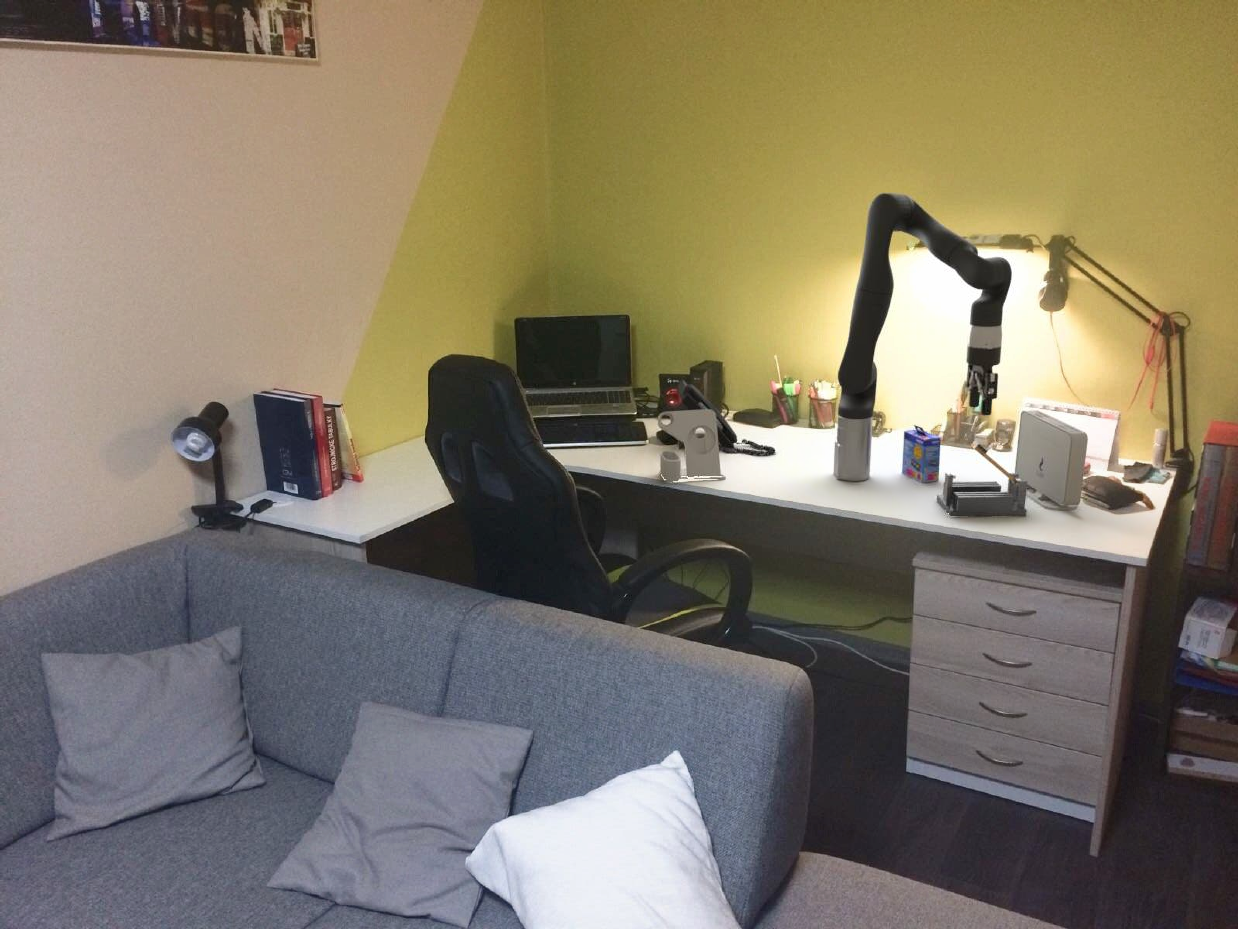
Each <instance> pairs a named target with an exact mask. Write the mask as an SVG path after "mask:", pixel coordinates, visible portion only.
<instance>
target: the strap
mask: <svg viewBox="0 0 1238 929" xmlns="http://www.w3.org/2000/svg"><path fill="white" fill-rule="evenodd" d="M970 446H971V447H972V449H974V450H975V451H976V452H977V453H978V454H980V455H981V456H982V457H983V458H984V459H985V460H987V461H988V462H989V463H991V464H992V465H993V466H994V467H995V468H996V469H998V471H1000V472H1001V473H1002V474H1003V475H1005V477H1007V478H1008V479H1010V480H1011V483H1012V484H1014V485H1015V486H1016V487H1017V481H1018V480H1020V479H1019V478H1017V477H1013V476H1012V475H1010V474H1009V473H1010V472H1008V471H1007V470H1005V468H1004V467H1002V466H1001V465H1000V464H999V463H998V462H996V461H995V460H994V459H993V458H992V457H991V456H989V455H988V454H987V453H988V450H987V449H986V448H985V447H983V445H982V444H980V443H979V442H977V441H976V440H974V441H973V442H971V443H970Z"/></svg>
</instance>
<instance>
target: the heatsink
mask: <svg viewBox="0 0 1238 929" xmlns="http://www.w3.org/2000/svg"><path fill="white" fill-rule="evenodd" d="M1008 473H1009V474H1010V475H1012V476H1013V477H1017V478H1018V477H1019V474H1018V473H1015V472H1008ZM956 477H957V475H956V473H955V472H952V471H951V472H945V474H944V482H943V488H942V489H943V491H942V494H936V500H937V501H936V502H937V503H938V504H939V506H940V505H941V506H940V507H941V508H942V507H943V508H944V509H943V508H942V509H943V510H944V511H945V510H946V511H945V513H946V514H947V513H949V515H950V516H968V517H967V518H976V517H977V518H981V517H983V518H986V517H987V518H991V517H992V516H993V518H995V517H994V516H998V517H997V518H999V516H1007V517H1009V516H1011V517H1027V512H1028V510H1027V509H1026V500H1027V499H1026V498H1027V497H1026V492H1028V490H1027V489H1028V488H1027V482H1028V481H1026V480H1020V479H1019V478H1018V479H1019V480H1018V481H1017V487H1016V486H1015V485H1014V484H1012V483H1011V480H1010V479H1009V478H1008V479H1007V480H1008V481H1007V491H1002V485H1001V484H1000V483H998V482H997V481H954V479H956ZM949 515H948V516H949ZM950 516H949V517H950ZM970 516H972V517H970ZM974 516H975V517H974ZM1007 517H1006V518H1007ZM1009 518H1010V517H1009Z"/></svg>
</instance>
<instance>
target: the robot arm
mask: <svg viewBox="0 0 1238 929" xmlns="http://www.w3.org/2000/svg"><path fill="white" fill-rule="evenodd" d="M865 227H866V228H865V240H864V245H863V246H864V247H863V252H862V253H863V254H862V258H861V265H860V268H859V269H860V270H859V275H858V279H857V283H856V288H855V292H854V298H853V303H852V311H851V315H850V322H849V332H848V338H847V342H846V346H845V349H844V353H843V356H842V358H841V362H840V365H839V368H838V371H837V380H838V384H839V386H840V387H841V391H840V398H839V403H838V407H837V427H836V439H835V440H834V455H833V456H834V457H833V474H834V476H835V477H836V480H843V481H851V482H860V481H866V480H868V479H869V478H870V474H871V459H872V458H871V457H872V454H871V453H872V439H873V421H874V409H875V404H876V395H877V382H878V369H877V365H876V363H875V361H874V358H875V353H876V352H875V351H876V347H877V342H878V339H879V337H880V335H881V332H882V329H883V327H884V325H885V322H886V320H887V316H888V313H889V310H890V307H891V303H892V302H891V301H892V298H893V293H894V288H895V285H894V282H895V281H894V276H893V275H894V274H893V270H892V266H891V262H890V246H891V242H892V236H893V233H894V232H902V233H904V234H906V235H907V234H908V235H909V236H912V237H914V238H916V239H917V240H919V241H920V242H922V244H924V246H925V247H926V249H928V251H929V252H930V254H932V256H933V257H935V258H936V259H937V260H939V261H940V262H941V263H944V264H945V265H946V266H948V267H950V268H951V269H953V270H955V272H956V273H957V275H958V276H959V277H960V278H961V279H962V280H963V281H964V282H965V283H966V284H967V285H968V286H969V287H971V288H974V289H976V290H980V291H981V290H982V291H981V294H980V296H979V298H977V299H975V300H974V301H973V302H972V304H971V306H970V307H971V308H970V319H969V320H970V321H969V329H968V334H967V335H968V336H967V349H966V359H965V360H966V361H965V362H966V364H967V375H966V384H965V385H966V388H968V392H969V399H968V406H969V407H970V408H978V407H979V406H981V407H980V414H981V416H991V415H992V410H993V409H992V408H993V401H994V399H995V400H996V399H997V398H998V385H999V384H998V383H999V382H998V381H999V374H998V372H993V367H994V366H998V365H999V364H1001V355H1002V343H1003V326H1002V325H1003V324H1002V323H1003V312H1004V304H1005V302H1006V300H1007V296H1008V293H1009V290H1010V287H1011V282H1012V278H1013V276H1012V275H1013V271H1012V266H1011V265H1010V264H1011V263H1010V262H1009V261H1008V260H1007V259H1006V258H1004V257H1003V256H1002V257H1000V256H995V257H986V258H985V257H982V256H980V255H979V252H978V251H979V250H978V248H977V246H976V245H974V244H973V243H972V242H970V241H969V240H967V239H965V238H964V237H962V236H960V235H959V234H957V233H956V232H954V231H952V230H951V229H949V228H948V227H946V226H945V225H943V224H942V223H940V222H939V221H938V220H937V219H935V218H934V216H932V215H930V213H929V212H927V211H926V210H925V209H924V208H923V207H922V206H921V205H920V204H919V203H917V201H915V199H913V198H912V197H911V196H910V195H907V194H903V193H891V192H882V193H880V194H878V195H876V196H875V197H874V198H873V199H872V201H871V203H870V205H869V209H868V212H867V220H866V226H865ZM980 394H981V395H980ZM980 396H981V405H980Z"/></svg>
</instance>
